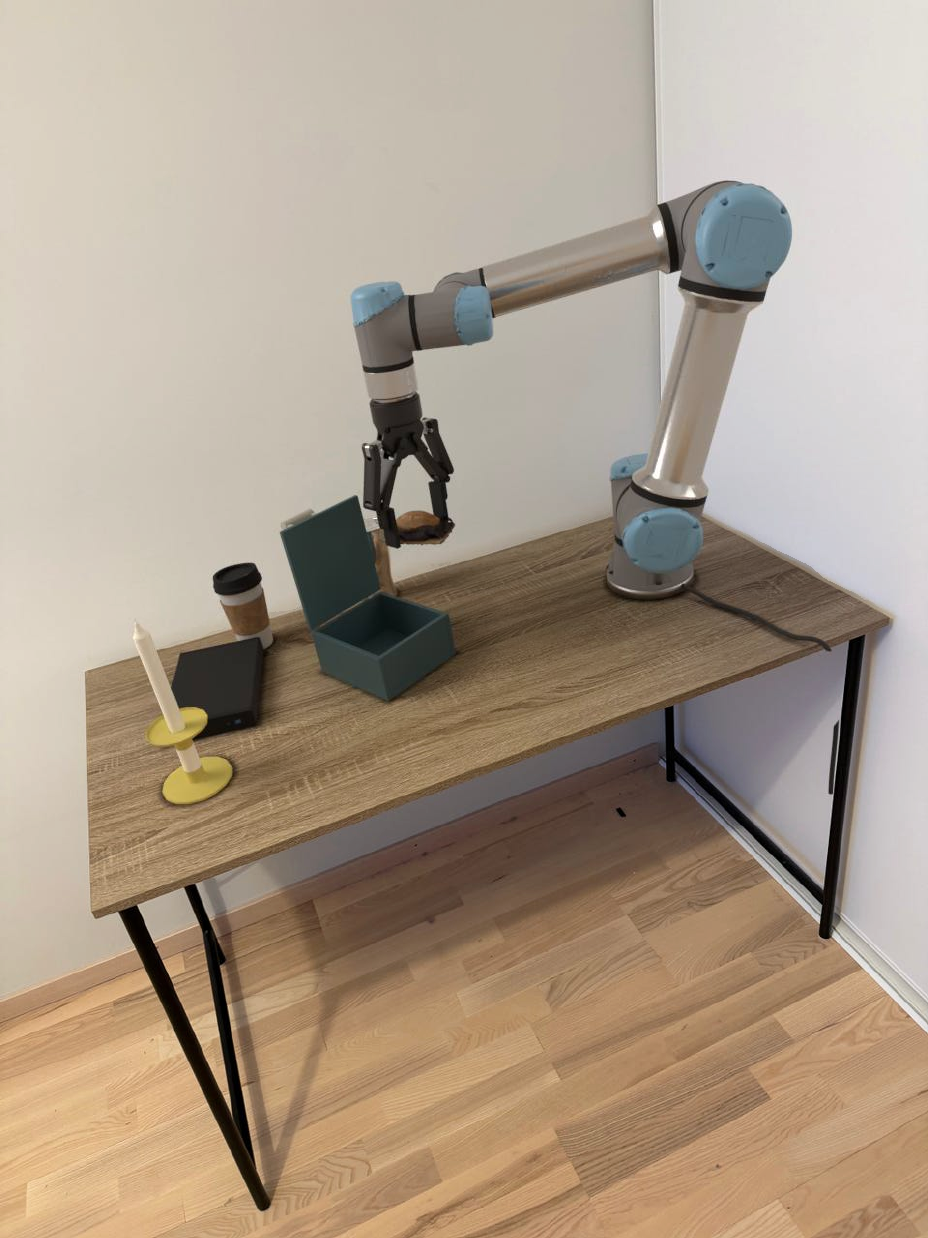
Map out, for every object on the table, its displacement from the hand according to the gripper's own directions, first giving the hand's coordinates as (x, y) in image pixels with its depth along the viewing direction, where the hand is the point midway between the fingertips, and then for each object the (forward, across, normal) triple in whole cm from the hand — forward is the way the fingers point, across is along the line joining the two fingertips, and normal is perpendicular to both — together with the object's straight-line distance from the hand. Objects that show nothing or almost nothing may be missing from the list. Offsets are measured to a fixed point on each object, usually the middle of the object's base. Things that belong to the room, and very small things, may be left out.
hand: (418, 532), depth 135 cm
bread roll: (0, 0, 0) cm, 0 cm away
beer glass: (+21, -6, -21) cm, 30 cm away
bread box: (+20, +10, -2) cm, 22 cm away
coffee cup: (+21, +18, -29) cm, 40 cm away
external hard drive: (+21, +31, -21) cm, 43 cm away
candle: (+21, +46, -4) cm, 50 cm away
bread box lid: (+3, +10, -11) cm, 15 cm away
